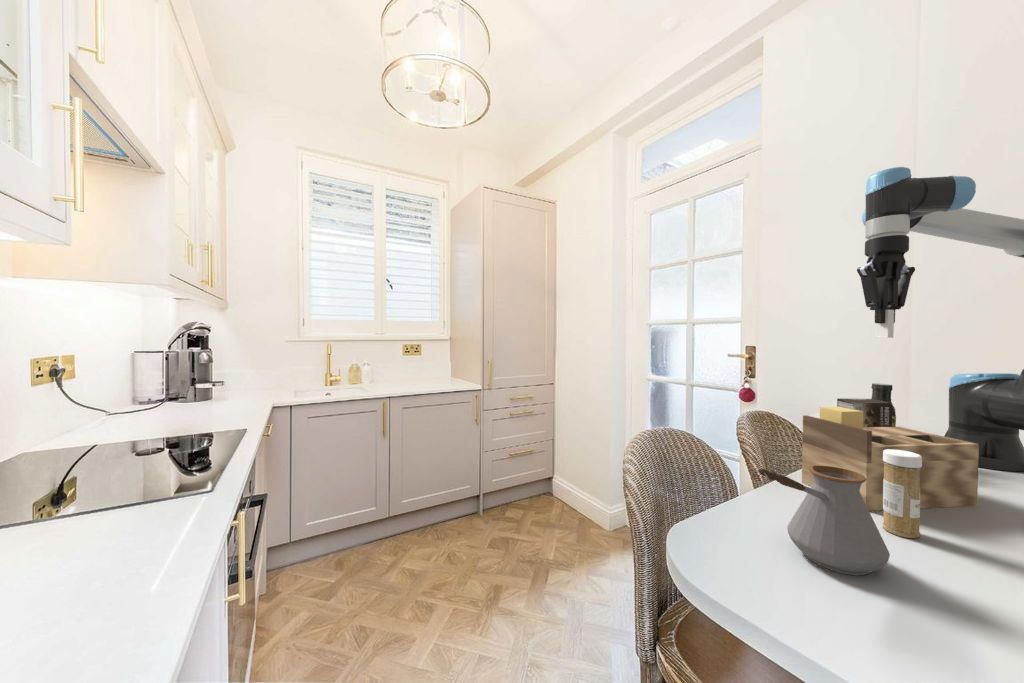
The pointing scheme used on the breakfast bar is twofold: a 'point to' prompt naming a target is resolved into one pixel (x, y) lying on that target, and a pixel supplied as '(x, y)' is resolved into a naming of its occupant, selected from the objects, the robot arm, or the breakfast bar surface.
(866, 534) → the coffee pot
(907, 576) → the breakfast bar surface
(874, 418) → the coffee box
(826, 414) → the ochre block
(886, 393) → the sauce bottle
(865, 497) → the box
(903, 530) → the sprinkles bottle
